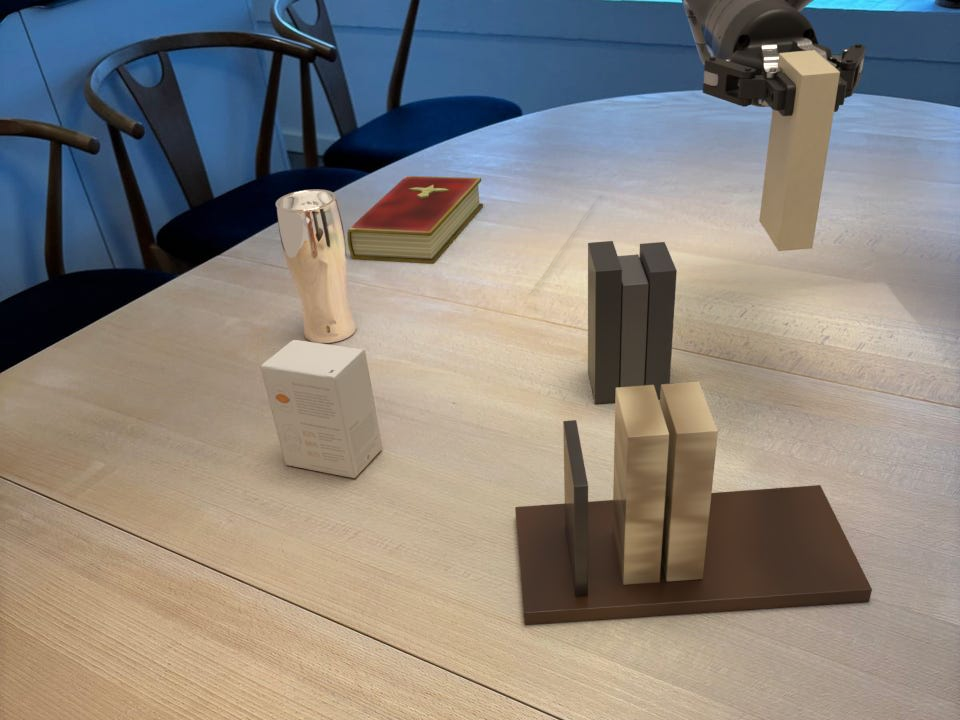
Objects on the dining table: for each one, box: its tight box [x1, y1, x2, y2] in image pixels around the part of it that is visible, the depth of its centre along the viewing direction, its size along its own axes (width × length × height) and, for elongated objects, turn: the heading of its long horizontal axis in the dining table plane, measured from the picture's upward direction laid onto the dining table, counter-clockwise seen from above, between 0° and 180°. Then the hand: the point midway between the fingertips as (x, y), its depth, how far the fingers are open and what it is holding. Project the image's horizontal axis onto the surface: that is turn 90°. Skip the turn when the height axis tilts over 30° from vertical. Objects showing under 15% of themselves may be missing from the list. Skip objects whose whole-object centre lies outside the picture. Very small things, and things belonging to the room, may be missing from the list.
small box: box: [260, 339, 383, 479], centre depth 91 cm, size 8×6×10 cm
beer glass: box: [275, 188, 357, 344], centre depth 110 cm, size 7×7×15 cm
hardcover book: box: [346, 175, 484, 264], centre depth 135 cm, size 12×21×4 cm, turn 162°
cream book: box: [758, 50, 840, 252], centre depth 79 cm, size 3×7×13 cm, turn 1°
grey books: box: [587, 240, 678, 405], centre depth 96 cm, size 7×7×14 cm
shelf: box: [514, 381, 873, 625], centre depth 74 cm, size 26×14×14 cm, turn 91°
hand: (813, 99), depth 74 cm, fingers closed on cream book, 3 cm apart
